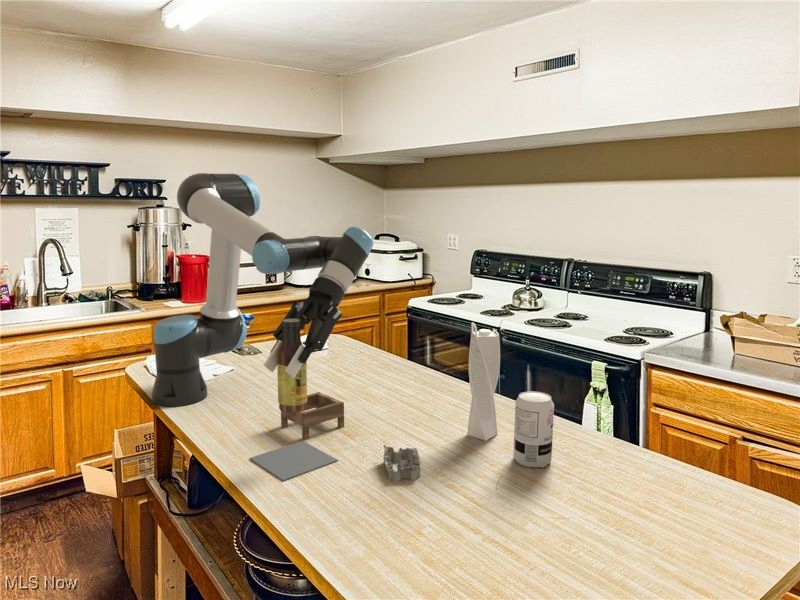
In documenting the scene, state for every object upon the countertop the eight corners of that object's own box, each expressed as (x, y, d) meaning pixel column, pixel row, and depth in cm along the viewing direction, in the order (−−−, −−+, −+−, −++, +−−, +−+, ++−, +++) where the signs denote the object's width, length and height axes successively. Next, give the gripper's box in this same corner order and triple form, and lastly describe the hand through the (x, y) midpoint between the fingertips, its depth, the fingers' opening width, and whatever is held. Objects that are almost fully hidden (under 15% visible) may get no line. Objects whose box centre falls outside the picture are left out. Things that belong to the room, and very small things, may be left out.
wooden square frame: (281, 426, 151) (280, 402, 150) (319, 415, 159) (319, 392, 158) (305, 439, 143) (304, 414, 142) (344, 426, 151) (343, 402, 150)
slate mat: (249, 459, 133) (249, 457, 132) (302, 441, 142) (302, 440, 142) (283, 481, 122) (283, 480, 122) (337, 461, 132) (337, 459, 132)
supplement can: (509, 453, 136) (511, 390, 133) (544, 452, 136) (547, 390, 134) (519, 470, 128) (521, 403, 125) (556, 468, 128) (559, 402, 126)
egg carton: (382, 460, 133) (382, 443, 132) (415, 459, 134) (415, 441, 133) (386, 483, 122) (386, 464, 122) (422, 481, 123) (422, 462, 122)
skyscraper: (459, 434, 146) (461, 323, 141) (476, 425, 152) (479, 318, 147) (486, 443, 141) (490, 328, 136) (503, 434, 147) (507, 323, 142)
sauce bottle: (301, 415, 126) (298, 324, 122) (273, 413, 127) (270, 322, 124) (312, 404, 132) (309, 317, 129) (285, 402, 134) (282, 316, 130)
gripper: (370, 299, 132) (320, 389, 122) (310, 291, 143) (259, 372, 134) (354, 279, 127) (300, 370, 117) (293, 271, 138) (239, 354, 128)
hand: (278, 371), depth 125 cm, fingers closed on sauce bottle, 6 cm apart
